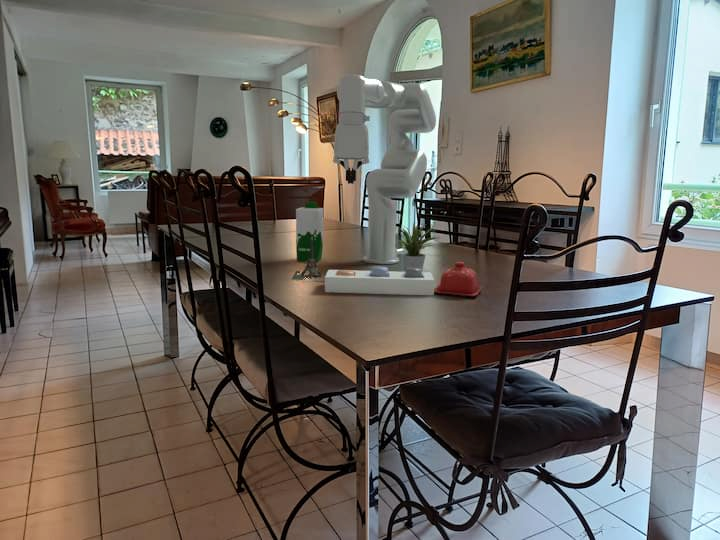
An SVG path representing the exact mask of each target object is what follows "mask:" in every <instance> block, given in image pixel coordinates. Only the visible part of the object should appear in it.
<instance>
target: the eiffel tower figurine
mask: <svg viewBox="0 0 720 540" xmlns="http://www.w3.org/2000/svg"><path fill="white" fill-rule="evenodd" d="M300 271H301V270H295V272H294V274H293V275H292V277H291V280H293V281H298V280H303V279H304V278H305V277H306V278H308V277H309V278H310V279H309V278H308V279H309V280H312V278H313V277H314V279H319V278H323V277H324V278H325V276H324V275H323V273H322V272H321V271H320V269H319V266H318V265H317V263H316V262H315V258H314V251H313V237H312V236H311V245H310V256H309V259H308V262H306V266H304V269H303V270H302V271H303V272H302V273H300ZM307 272H308V274H306V273H307ZM315 272H316V273H317V274H316V273H315ZM297 273H299V274H298V275H297ZM306 278H305V279H306ZM305 279H304V280H305ZM315 282H318V280H315Z"/></svg>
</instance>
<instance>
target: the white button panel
mask: <svg viewBox="0 0 720 540" xmlns="http://www.w3.org/2000/svg"><path fill="white" fill-rule="evenodd" d="M339 270H340V269H328V270H327V272H326V275H325V276H324V292H325V293H336V294H337V293H339V294H374V295H375V294H376V295H377V294H380V295H404V296H405V295H411V296H415V295H416V296H434V295H435V292H434V289H435V282H436V281H435V279H434V276H433V274H432V273H431V272H429V271H428V272H427V271H426V272H425V271H422V278H410V277H405V272H404V271H391V270H388V277H374V276H371V270H356V269H355V270H354V269H353V270H352V269H351V270H352V271H354V276H338V275H337V271H339Z"/></svg>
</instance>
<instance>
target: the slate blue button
mask: <svg viewBox="0 0 720 540" xmlns="http://www.w3.org/2000/svg"><path fill="white" fill-rule="evenodd" d="M370 269H371V270H370V271H371V276H374V277H388V271H389V267H388V266H387V267H386V266H379V265H378V266H371V268H370Z"/></svg>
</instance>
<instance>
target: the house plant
mask: <svg viewBox="0 0 720 540" xmlns="http://www.w3.org/2000/svg"><path fill="white" fill-rule="evenodd" d="M415 225H416V224H415V222H413V224H412V233H411V232H410V229H408V228H407V227H406V226H403V225H402V228H399V227H397V228H394V229H396V230H398V231H399V233H400V235H401V236H402V238H403V239H404V240H403V239H398V240H397V242H399V244H398V246H397V247H398V248H399V249H405V250H406V251H407V252H405V253H403V254H401V255H402V256H401V257H402V263H403V265H402V266H403V272H405V268H409V267H415V268H421V269H422V271H423V269H424V265H425V260H426V254H424V253H421V252H420V251H422V250H425V248H426V247H433V248H435V247H436V245H435V244H434V243H431V242H430V241H432V240H436V239H440V238H441V237H439V236H433V237H427V238H426V236H428V235H431V234H434V233H433V229H434V228H430V229H428V230H426V231H425V232H424V233H423V234H422V236H421V237H420V238H419V236H420V234H421V233H422V232H423V229H424V228H425V227H426V226H427V223H425V224H424V225H423V226H422V227H420V229H418V226H417V225H416V226H415ZM403 227H404V228H403ZM405 228H406V229H405ZM407 231H408V232H407ZM437 231H439V230H436V232H437ZM431 232H432V233H431ZM427 242H430V243H427Z"/></svg>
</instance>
